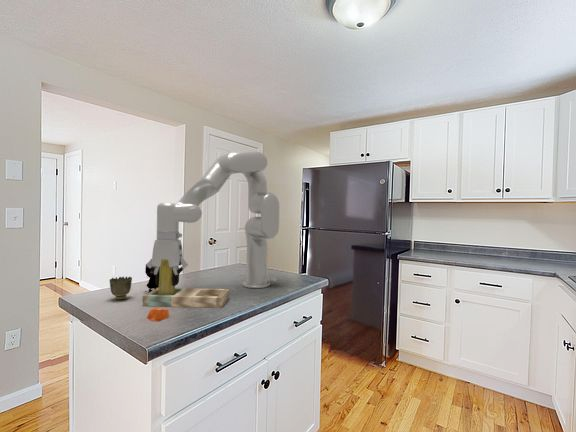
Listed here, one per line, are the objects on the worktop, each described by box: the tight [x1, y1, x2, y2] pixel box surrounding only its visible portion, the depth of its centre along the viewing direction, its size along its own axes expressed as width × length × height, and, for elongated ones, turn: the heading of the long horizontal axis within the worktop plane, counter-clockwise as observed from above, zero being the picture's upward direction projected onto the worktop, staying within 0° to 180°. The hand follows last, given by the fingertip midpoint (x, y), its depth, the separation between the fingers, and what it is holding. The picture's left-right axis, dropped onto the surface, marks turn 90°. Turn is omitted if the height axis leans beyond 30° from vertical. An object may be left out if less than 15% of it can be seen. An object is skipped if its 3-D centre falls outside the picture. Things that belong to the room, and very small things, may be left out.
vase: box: [158, 259, 176, 295], centre depth 109 cm, size 6×6×14 cm
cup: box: [109, 276, 133, 301], centre depth 110 cm, size 8×7×8 cm
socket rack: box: [142, 287, 230, 309], centre depth 109 cm, size 28×12×4 cm, turn 89°
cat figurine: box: [144, 263, 159, 293], centre depth 121 cm, size 7×7×12 cm
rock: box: [146, 306, 170, 322], centre depth 92 cm, size 12×12×4 cm
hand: (167, 284), depth 109 cm, fingers closed on vase, 5 cm apart
